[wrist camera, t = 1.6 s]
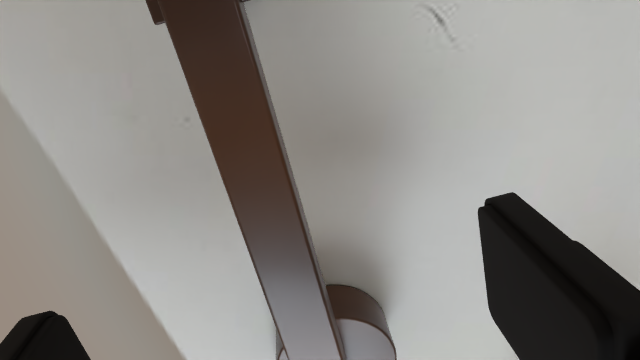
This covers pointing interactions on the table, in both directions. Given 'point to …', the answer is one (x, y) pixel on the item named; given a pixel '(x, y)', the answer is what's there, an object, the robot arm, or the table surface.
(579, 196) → the table surface
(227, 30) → the ladle
